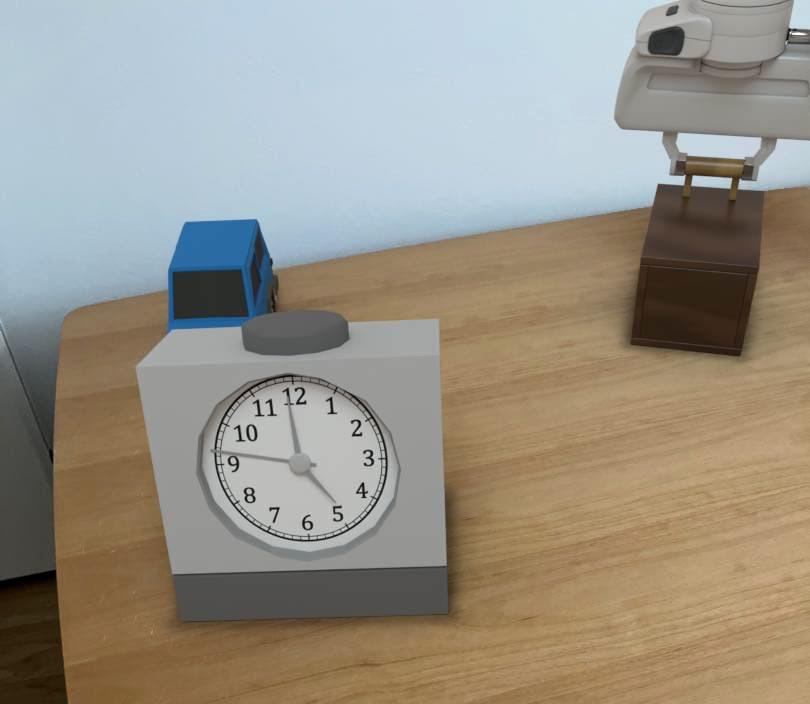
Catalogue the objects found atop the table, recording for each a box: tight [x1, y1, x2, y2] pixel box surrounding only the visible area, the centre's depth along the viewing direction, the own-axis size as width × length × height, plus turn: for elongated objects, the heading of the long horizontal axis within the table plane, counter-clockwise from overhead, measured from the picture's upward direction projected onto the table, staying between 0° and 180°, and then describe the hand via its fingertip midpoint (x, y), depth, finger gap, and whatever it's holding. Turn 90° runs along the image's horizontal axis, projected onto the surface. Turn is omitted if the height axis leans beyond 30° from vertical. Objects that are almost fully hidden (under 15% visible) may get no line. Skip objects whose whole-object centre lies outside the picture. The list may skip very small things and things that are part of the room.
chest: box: [630, 263, 759, 357], centre depth 101 cm, size 15×11×9 cm
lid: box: [639, 155, 765, 275], centre depth 97 cm, size 15×11×5 cm
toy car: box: [166, 218, 280, 335], centre depth 100 cm, size 9×19×10 cm, turn 179°
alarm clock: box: [135, 309, 449, 623], centre depth 75 cm, size 20×16×20 cm
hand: (712, 176), depth 100 cm, fingers closed on lid, 5 cm apart
